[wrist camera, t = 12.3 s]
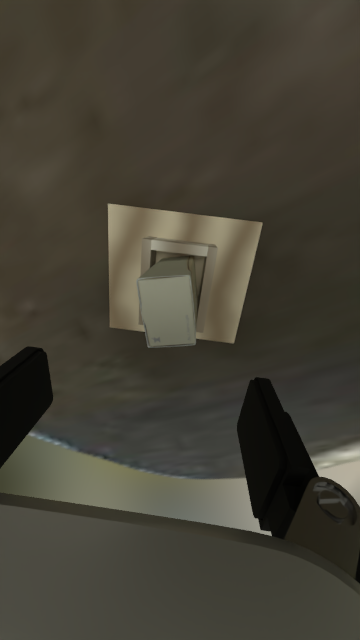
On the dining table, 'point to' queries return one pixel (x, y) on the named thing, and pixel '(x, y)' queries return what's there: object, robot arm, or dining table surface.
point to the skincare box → (169, 302)
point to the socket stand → (174, 241)
